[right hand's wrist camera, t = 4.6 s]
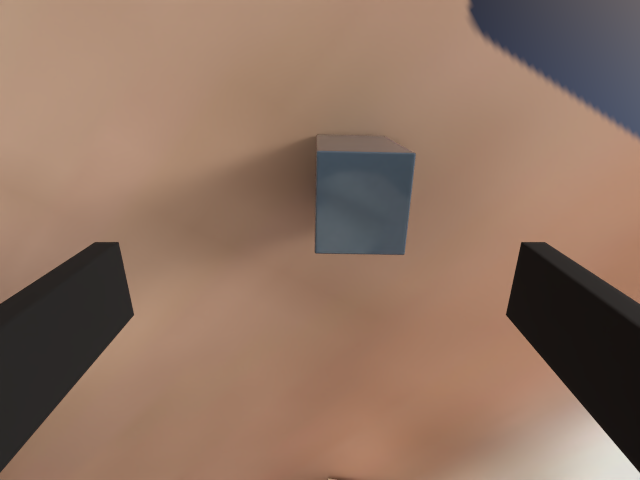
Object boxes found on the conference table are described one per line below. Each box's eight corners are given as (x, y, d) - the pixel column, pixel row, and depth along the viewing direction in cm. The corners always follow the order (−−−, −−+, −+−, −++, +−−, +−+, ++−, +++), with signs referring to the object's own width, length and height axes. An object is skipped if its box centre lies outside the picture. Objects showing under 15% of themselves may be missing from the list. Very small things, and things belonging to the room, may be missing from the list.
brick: (385, 135, 27) (416, 152, 19) (379, 210, 29) (404, 255, 21) (316, 134, 27) (316, 150, 19) (315, 209, 29) (314, 254, 21)
